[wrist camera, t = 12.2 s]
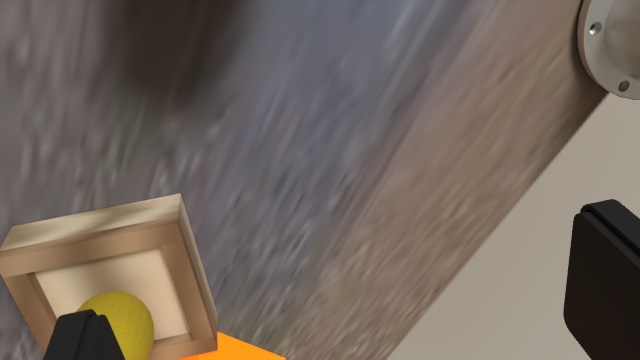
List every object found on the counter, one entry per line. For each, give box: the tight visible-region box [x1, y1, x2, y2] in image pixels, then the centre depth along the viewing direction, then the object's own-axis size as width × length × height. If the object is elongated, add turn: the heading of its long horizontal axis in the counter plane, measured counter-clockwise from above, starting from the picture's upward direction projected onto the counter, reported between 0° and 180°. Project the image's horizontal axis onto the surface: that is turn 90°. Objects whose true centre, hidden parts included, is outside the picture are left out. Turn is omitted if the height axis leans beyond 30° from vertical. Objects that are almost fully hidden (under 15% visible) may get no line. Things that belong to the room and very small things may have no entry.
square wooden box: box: [0, 193, 218, 360], centre depth 42 cm, size 12×12×4 cm
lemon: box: [76, 291, 154, 360], centre depth 37 cm, size 6×6×8 cm
